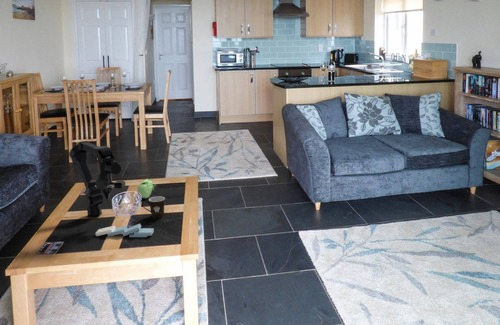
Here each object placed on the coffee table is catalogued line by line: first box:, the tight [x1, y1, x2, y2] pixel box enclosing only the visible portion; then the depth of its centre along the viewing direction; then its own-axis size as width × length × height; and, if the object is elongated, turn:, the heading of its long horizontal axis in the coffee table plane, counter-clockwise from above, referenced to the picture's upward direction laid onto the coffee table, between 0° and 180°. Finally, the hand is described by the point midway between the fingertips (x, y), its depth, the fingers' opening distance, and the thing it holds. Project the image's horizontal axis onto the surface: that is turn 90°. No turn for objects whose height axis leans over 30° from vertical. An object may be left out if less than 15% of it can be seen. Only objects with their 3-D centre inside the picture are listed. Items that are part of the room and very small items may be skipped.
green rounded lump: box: [136, 178, 156, 199], centre depth 278 cm, size 12×11×11 cm
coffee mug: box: [141, 196, 166, 219], centre depth 249 cm, size 12×9×10 cm
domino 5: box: [134, 227, 155, 237], centre depth 225 cm, size 2×5×8 cm
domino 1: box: [95, 225, 117, 237], centre depth 226 cm, size 2×5×8 cm
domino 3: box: [121, 223, 142, 237], centre depth 226 cm, size 2×5×8 cm
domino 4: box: [129, 232, 148, 238], centre depth 225 cm, size 2×5×8 cm
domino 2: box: [107, 225, 129, 237], centre depth 226 cm, size 2×5×8 cm
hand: (107, 199), depth 239 cm, fingers closed
